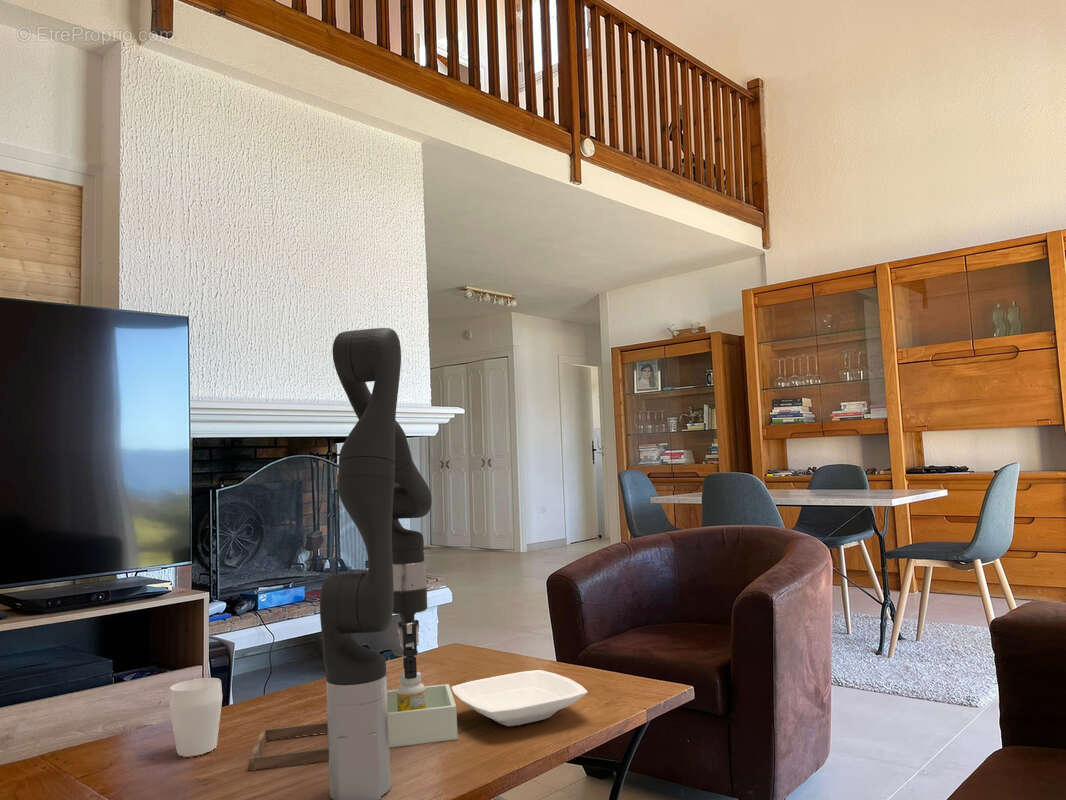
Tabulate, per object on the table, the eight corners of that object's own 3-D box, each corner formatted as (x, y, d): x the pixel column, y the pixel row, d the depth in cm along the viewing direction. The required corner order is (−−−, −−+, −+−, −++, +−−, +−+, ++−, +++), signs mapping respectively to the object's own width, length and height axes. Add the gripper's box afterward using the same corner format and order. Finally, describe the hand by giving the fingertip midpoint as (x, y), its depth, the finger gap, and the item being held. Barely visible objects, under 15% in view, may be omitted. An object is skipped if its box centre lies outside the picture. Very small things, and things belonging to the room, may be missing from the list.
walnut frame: (343, 759, 136) (343, 747, 136) (249, 771, 133) (248, 758, 133) (347, 730, 151) (347, 719, 151) (262, 740, 148) (262, 729, 148)
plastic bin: (457, 739, 142) (456, 706, 143) (370, 749, 139) (368, 716, 140) (450, 713, 158) (448, 683, 158) (371, 722, 155) (369, 692, 155)
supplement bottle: (430, 726, 148) (428, 674, 149) (403, 732, 145) (401, 679, 146) (420, 719, 152) (418, 668, 153) (394, 725, 150) (392, 673, 151)
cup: (165, 763, 138) (164, 693, 139) (174, 746, 147) (173, 681, 148) (220, 755, 141) (219, 687, 142) (226, 739, 149) (224, 675, 150)
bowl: (442, 715, 157) (441, 686, 158) (545, 694, 168) (544, 666, 168) (486, 748, 137) (485, 715, 138) (600, 722, 148) (598, 691, 148)
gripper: (428, 589, 145) (432, 680, 143) (424, 580, 158) (427, 663, 157) (387, 592, 143) (390, 684, 141) (386, 583, 157) (389, 667, 155)
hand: (410, 673), depth 149 cm, fingers open, 8 cm apart
